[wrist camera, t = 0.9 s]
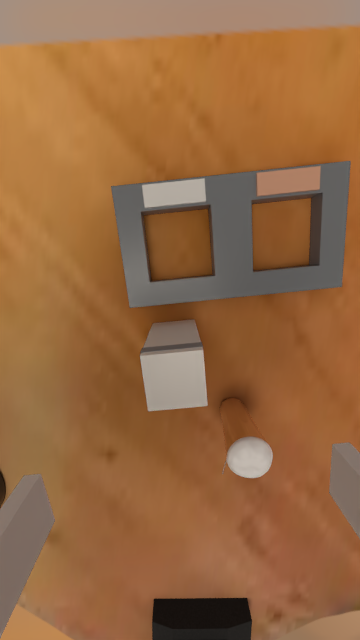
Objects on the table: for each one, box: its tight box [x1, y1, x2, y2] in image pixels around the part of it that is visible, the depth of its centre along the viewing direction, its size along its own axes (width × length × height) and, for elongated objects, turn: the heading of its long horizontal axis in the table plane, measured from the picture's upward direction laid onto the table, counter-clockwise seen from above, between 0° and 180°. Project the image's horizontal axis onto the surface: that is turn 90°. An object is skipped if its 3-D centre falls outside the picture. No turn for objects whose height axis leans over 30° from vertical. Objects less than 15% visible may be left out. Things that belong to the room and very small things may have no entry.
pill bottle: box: [220, 398, 273, 478], centre depth 26 cm, size 4×5×10 cm
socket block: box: [111, 161, 350, 308], centre depth 25 cm, size 23×12×2 cm, turn 96°
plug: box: [140, 319, 208, 411], centre depth 24 cm, size 5×5×10 cm
